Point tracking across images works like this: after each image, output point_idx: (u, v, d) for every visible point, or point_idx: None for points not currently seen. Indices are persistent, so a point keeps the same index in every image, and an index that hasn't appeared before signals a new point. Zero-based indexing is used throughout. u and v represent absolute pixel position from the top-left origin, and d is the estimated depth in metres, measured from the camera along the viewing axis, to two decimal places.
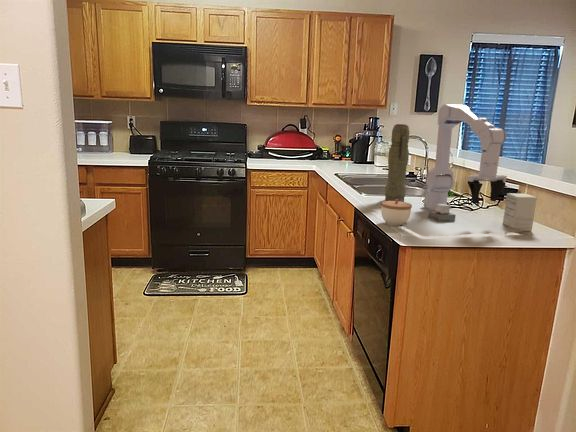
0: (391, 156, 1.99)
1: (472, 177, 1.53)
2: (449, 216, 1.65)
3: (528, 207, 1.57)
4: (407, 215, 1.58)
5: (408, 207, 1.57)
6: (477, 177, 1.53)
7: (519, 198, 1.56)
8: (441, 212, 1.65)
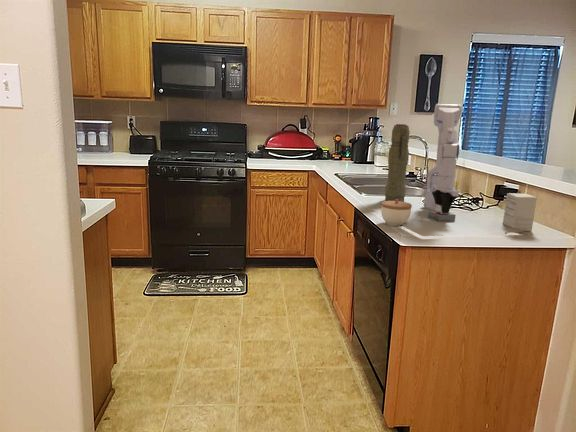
0: (391, 156, 1.99)
1: (432, 185, 1.72)
2: (449, 216, 1.65)
3: (528, 207, 1.57)
4: (407, 215, 1.58)
5: (408, 207, 1.57)
6: (434, 186, 1.70)
7: (519, 198, 1.56)
8: (441, 212, 1.65)
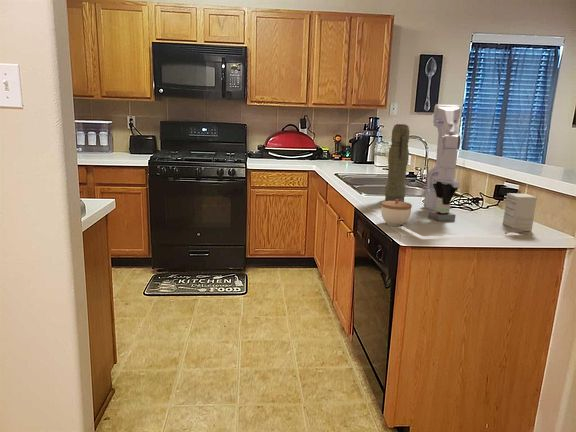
0: (391, 156, 1.99)
1: (433, 177, 1.71)
2: (449, 216, 1.65)
3: (528, 207, 1.57)
4: (407, 215, 1.58)
5: (408, 207, 1.57)
6: (434, 178, 1.69)
7: (519, 198, 1.56)
8: (442, 205, 1.65)
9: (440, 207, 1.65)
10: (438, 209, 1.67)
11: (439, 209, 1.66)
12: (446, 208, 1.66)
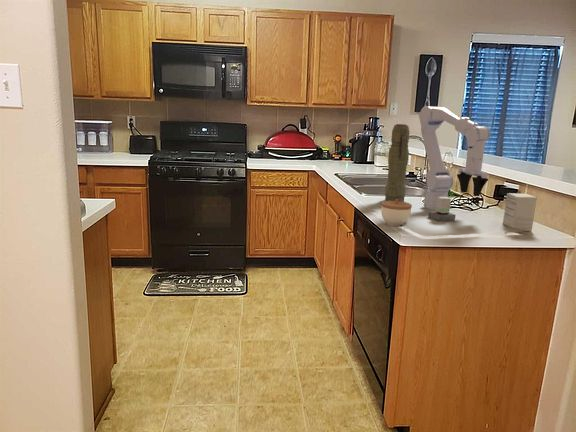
0: (391, 156, 1.99)
1: (459, 169, 1.74)
2: (449, 216, 1.65)
3: (528, 207, 1.57)
4: (407, 215, 1.58)
5: (408, 207, 1.57)
6: (461, 169, 1.72)
7: (519, 198, 1.56)
8: (442, 205, 1.65)
9: (440, 207, 1.65)
10: (438, 209, 1.67)
11: (439, 209, 1.66)
12: (446, 208, 1.66)
